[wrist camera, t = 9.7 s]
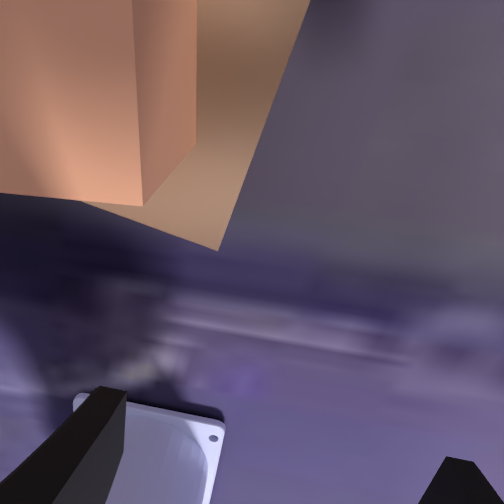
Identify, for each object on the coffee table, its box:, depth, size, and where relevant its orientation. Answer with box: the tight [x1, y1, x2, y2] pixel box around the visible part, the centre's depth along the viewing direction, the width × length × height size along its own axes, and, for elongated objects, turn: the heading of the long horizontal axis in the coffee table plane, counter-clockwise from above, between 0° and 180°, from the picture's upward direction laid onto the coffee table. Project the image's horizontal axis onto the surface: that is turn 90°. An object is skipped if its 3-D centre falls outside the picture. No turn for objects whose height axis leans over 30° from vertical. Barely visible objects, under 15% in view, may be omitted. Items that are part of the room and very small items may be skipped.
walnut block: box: [79, 0, 310, 251], centre depth 14 cm, size 9×9×4 cm
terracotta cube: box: [0, 0, 197, 206], centre depth 10 cm, size 4×4×5 cm
